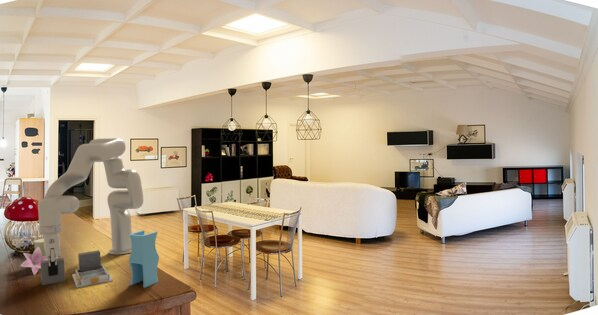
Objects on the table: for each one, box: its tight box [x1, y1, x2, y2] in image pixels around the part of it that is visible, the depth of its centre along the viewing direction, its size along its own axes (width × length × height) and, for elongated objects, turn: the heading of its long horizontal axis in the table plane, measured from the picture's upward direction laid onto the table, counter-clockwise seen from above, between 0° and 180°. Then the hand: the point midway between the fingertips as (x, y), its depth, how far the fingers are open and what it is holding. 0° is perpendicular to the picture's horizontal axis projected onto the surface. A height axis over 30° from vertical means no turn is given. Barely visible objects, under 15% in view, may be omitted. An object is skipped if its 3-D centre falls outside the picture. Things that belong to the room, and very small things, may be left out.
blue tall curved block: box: [128, 230, 160, 289], centre depth 161 cm, size 8×8×20 cm
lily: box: [20, 247, 48, 276], centre depth 180 cm, size 12×12×10 cm
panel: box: [40, 257, 66, 286], centre depth 166 cm, size 8×3×9 cm, turn 124°
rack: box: [71, 249, 114, 289], centre depth 169 cm, size 13×18×10 cm
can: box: [33, 237, 59, 258], centre depth 191 cm, size 9×9×12 cm
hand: (53, 273), depth 166 cm, fingers closed on panel, 3 cm apart
